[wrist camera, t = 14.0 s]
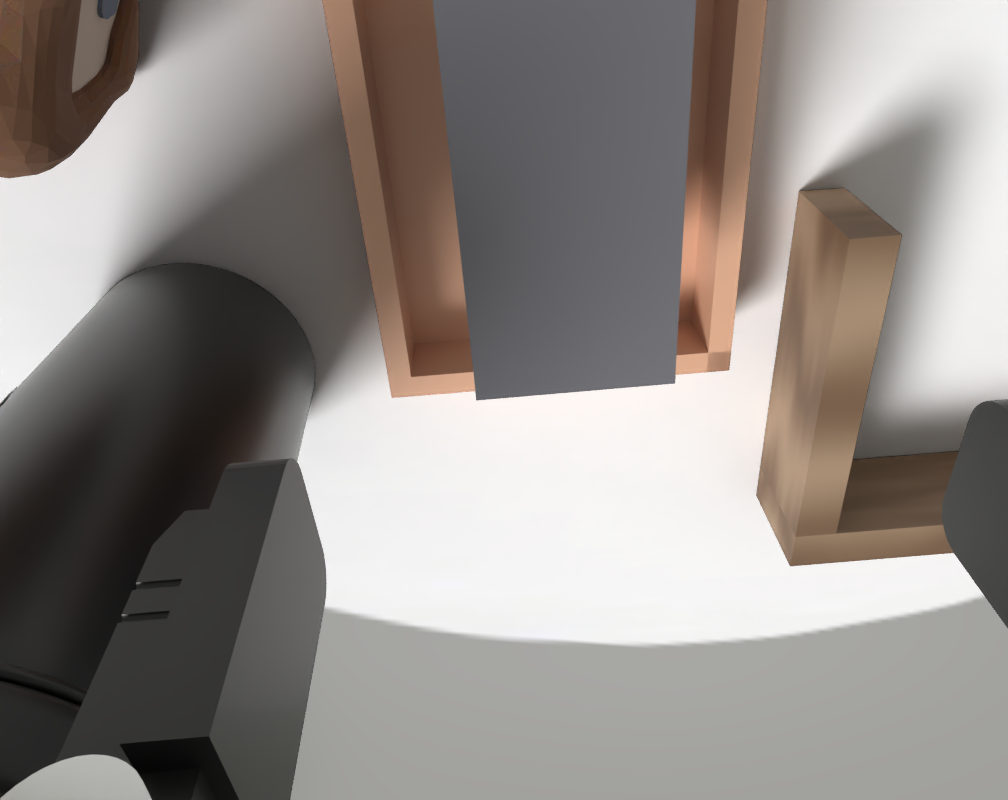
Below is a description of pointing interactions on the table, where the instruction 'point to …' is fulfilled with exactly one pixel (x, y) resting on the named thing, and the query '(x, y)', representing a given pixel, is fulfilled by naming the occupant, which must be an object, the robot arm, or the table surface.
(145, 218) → the table surface
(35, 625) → the water bottle
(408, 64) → the tray
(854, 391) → the bay
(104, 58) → the toy
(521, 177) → the grey rectangular prism
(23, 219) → the table surface
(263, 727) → the robot arm
